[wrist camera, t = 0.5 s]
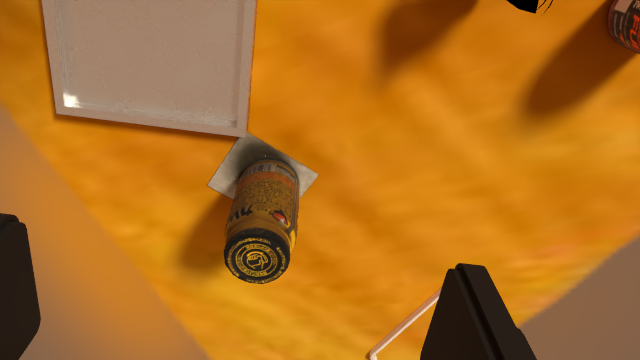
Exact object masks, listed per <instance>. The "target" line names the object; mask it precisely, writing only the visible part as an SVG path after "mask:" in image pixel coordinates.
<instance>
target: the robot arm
mask: <svg viewBox="0 0 640 360" xmlns="http://www.w3.org/2000/svg"><path fill="white" fill-rule="evenodd" d="M40 320H41V318H40V310H39V304H38V298H37V291H36V285H35V278H34V272H33V266H32V259H31V253H30V247H29V241H28V234H27V228H26V225H25V224H24V223H22V222H19V220H18V218H17V217H16V216H15V215H11V214H2V213H0V360H19V358H20V357H21V355H22V354H23V352H24V351H25V350H26V348H27V347H28V345H29V344H30V342H31V341H32V339H33V338H34V336H35V335H36V333H37V331H38V329H39V326H40ZM420 360H537V359H536V357H535V355H534V353H533V351H532V350H531V348H530V346H529V344H528V342H527V340H526V338H525V336H524V334H523V333H522V332H521V330H520V329H518V328H517V327H516V326H515V324H514V322H513V320H512V318H511V316H510V314H509V312H508V310H507V308H506V306H505V304H504V302H503V300H502V298H501V296H500V295H499V293H498V291H497V289H496V287H495V285H494V283H493V281H492V279H491V277H490V275H489V273H488V271H487V269H486V268H485V267H484V266H481V265H472V264H463V263H459V264H457V265H456V267H455V269H449V270H448V271H447V273H446V276H445V279H444V283H443V286H442V289H441V292H440V295H439V298H438V301H437V304H436V307H435V311H434V314H433V317H432V320H431V323H430V326H429V329H428V332H427V336H426V339H425V342H424V345H423V348H422V351H421V356H420Z"/></svg>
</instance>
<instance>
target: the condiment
mask: <svg viewBox="0 0 640 360" xmlns="http://www.w3.org/2000/svg"><path fill="white" fill-rule="evenodd" d="M265 155H266V156H265ZM317 176H318V174H317V173H315V172H313V171H312V170H310V169H309V168H307V167H305V166H304V165H302V164H300V163H299V162H297V161H296V160H294V159H292V158H290V157H289V156H287V155H285V154H283V153H282V152H280V151H278V150H276V149H274V148H273V147H271V146H270V145H268V144H266V143H265V142H263V141H262V140H260V139H258V138H256V137H254V136H252V135H251V134H249V133H246V137H245V138H244V137H239V138H238V140H237V141H236V143H235V144H234V146H233V147H232V149H231V150H230V152H229V153H228V155H227V156H226V158H225V159H224V161H223V162H222V163H221V165H220V167H219V168H218V170H217V171H216V173H215V174H214V176H213V177H212V179H211V180H210V182H209V183H208V186H209V187H211V188H213V189H214V190H216V191H219V192H220V193H222V194H223V195H225V196H228V197H230V198H231V199H233V204H232V207H231V211H230V214H229V218H228V221H227V225H226V229H225V240H226V245H225V249H224V259H225V265H226V266H227V267H228V269H229V270H230V271H231V272H232V274H233V275H234V276H236V277H237V278H239V279H241V280H243V281H246V282H249V283H257V284H264V283H268V282H271V281H273V280H276V279H277V278H279V277H280V276H281V275H282V274H283V273H284V272H285V271H286V269H287V268H288V265H289V261H290V254H291V252H292V250H293V248H294V246H295V244H296V236H297V227H298V225H297V219H298V212H299V211H298V209H299V199H300V197H301V196H302V195H303V194H304V192H305V191H306V190H307V189H308V187H309V186H310V185H311V184H312V182H313V181H314V180H315V179H316V177H317ZM235 177H236V178H237V180H235ZM237 181H238V183H237Z"/></svg>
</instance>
